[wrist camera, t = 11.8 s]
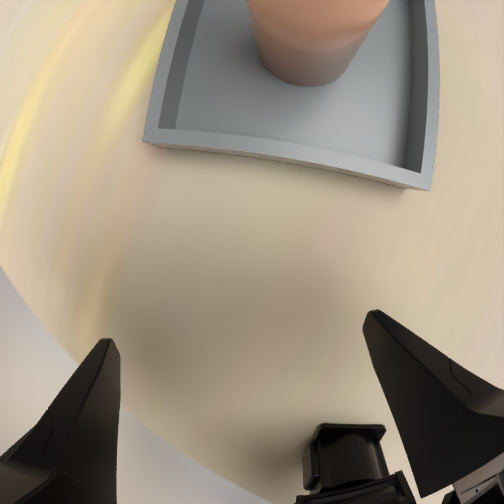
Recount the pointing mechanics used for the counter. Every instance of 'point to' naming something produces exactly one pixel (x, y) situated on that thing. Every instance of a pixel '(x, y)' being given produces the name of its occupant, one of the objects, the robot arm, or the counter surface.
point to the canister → (311, 36)
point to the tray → (301, 96)
